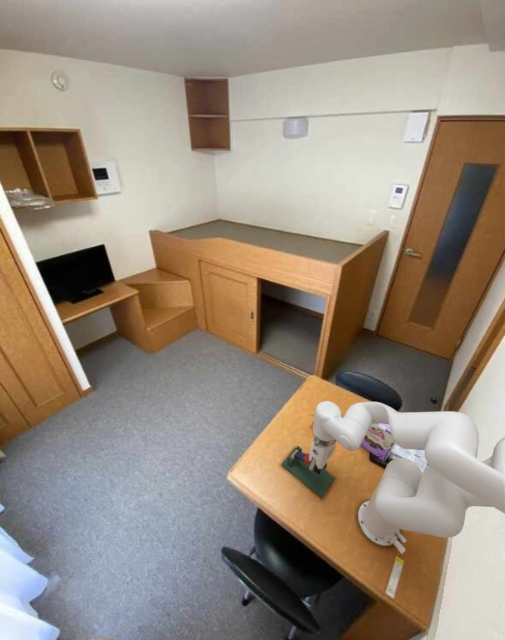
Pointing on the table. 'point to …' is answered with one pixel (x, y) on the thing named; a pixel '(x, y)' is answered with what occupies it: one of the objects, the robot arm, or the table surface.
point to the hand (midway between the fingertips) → (319, 466)
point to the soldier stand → (308, 474)
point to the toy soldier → (303, 458)
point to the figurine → (313, 421)
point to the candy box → (379, 440)
